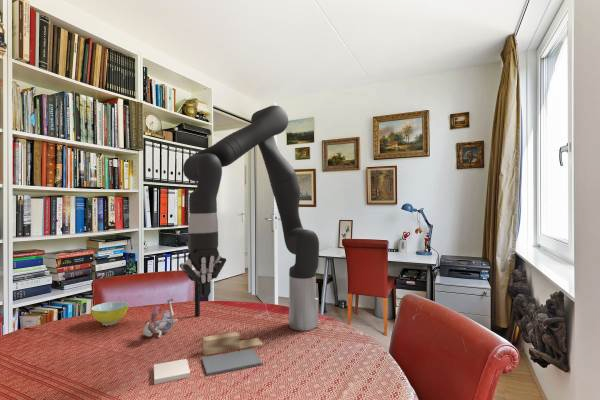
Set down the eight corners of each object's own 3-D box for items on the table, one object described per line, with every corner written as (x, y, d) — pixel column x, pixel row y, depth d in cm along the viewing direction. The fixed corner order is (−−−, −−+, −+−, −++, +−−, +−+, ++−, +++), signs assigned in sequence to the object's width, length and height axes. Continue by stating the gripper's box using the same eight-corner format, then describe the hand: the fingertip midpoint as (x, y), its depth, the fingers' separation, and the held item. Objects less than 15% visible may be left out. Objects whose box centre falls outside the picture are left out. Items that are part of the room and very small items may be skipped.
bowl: (127, 316, 125) (127, 299, 125) (129, 325, 115) (129, 307, 115) (91, 321, 119) (91, 304, 119) (90, 332, 109) (90, 313, 110)
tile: (186, 358, 89) (153, 364, 85) (190, 372, 81) (154, 379, 78) (186, 364, 89) (153, 370, 85) (190, 379, 81) (154, 386, 78)
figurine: (180, 337, 113) (154, 349, 99) (157, 329, 115) (129, 340, 100) (189, 303, 115) (165, 309, 100) (167, 296, 116) (140, 302, 102)
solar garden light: (189, 310, 132) (189, 234, 132) (219, 311, 130) (219, 234, 131) (173, 320, 120) (173, 237, 120) (206, 322, 118) (206, 237, 119)
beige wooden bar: (257, 339, 104) (257, 326, 104) (263, 345, 99) (263, 332, 99) (202, 349, 97) (202, 335, 97) (205, 357, 92) (205, 342, 92)
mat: (252, 350, 96) (252, 348, 96) (261, 364, 88) (261, 362, 88) (202, 359, 90) (202, 357, 90) (206, 375, 82) (206, 373, 82)
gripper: (217, 227, 95) (218, 288, 95) (172, 231, 86) (173, 299, 86) (232, 229, 90) (233, 293, 90) (187, 233, 81) (188, 305, 81)
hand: (204, 296), depth 88 cm, fingers closed
